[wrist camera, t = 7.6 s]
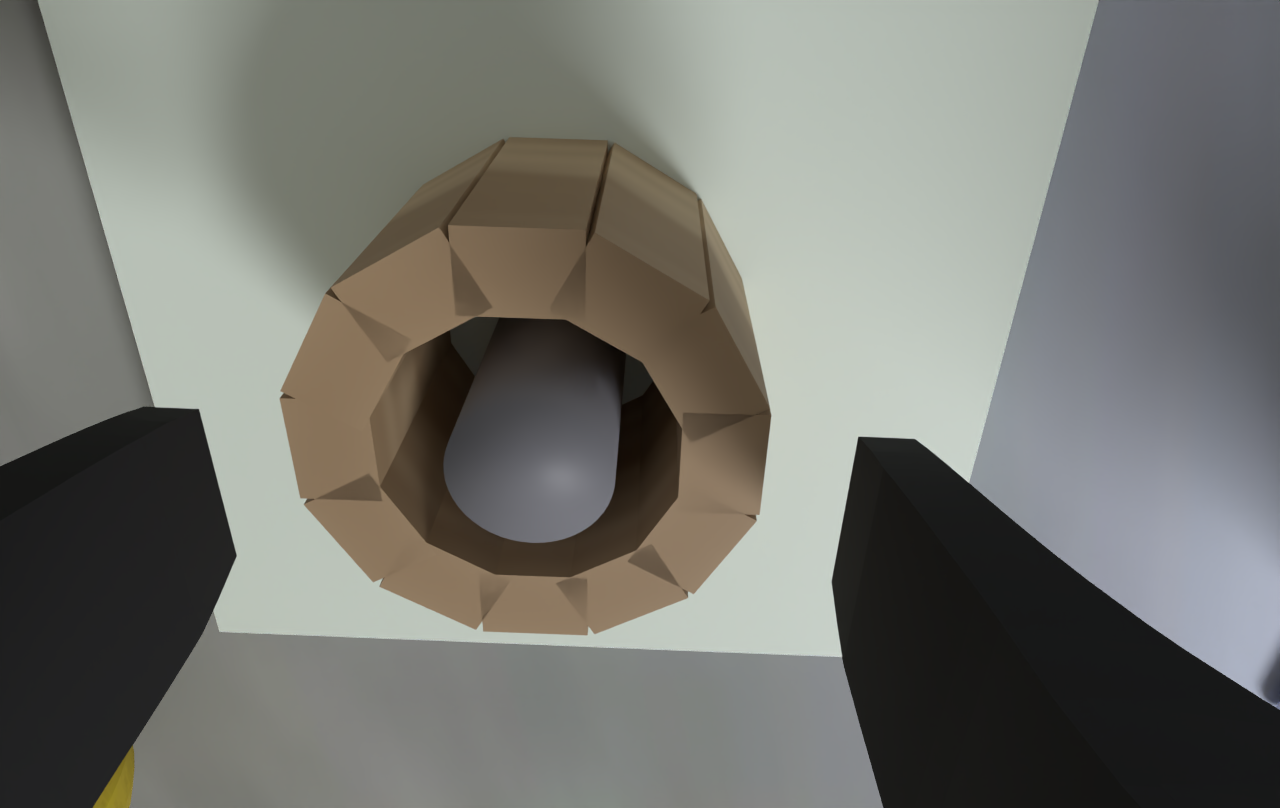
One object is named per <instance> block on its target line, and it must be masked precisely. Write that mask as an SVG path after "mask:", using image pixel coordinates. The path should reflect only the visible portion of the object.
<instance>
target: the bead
mask: <svg viewBox="0 0 1280 808" xmlns="http://www.w3.org/2000/svg"><path fill="white" fill-rule="evenodd" d="M474 317H505V318H534V319H563V320H567V321H569V322H571V323H573V324H575V325H576V326H578V327H580V328H582V329H583V330H585V331H587V332H589V333H591V334H592V335H594V336H596V337H598V338H600V339H601V340H603V341H605V342H607V343H609V344H610V345H612V346H614V347H616V348H617V349H619V350H621V351H623V352H625V353H626V354H628V355H630V356H632V357H634V358H635V359H637V360H639V361H641V362H642V363H643V364H644V366H645V368H646V369H647V371H648V373H649V374H650V376H651V378H652V379H653V382H652V383H651V385H650V386H649V387H648V389H647V390H646V392H645V393H644V394H643V395H642V396H640V397H638V398H636V399H634V400H631V401H629V402H627V403H625V404H623V405H622V408H621V420H620V431H619V443H618V455H617V467H616V478H615V488H614V492H613V495H612V498H611V500H610V503H609V505H608V506H607V508H606V510H605V511H604V513H603V514H602V515H601V516H600V517H599V518H598V520H596V521H595V522H594V523H593V524H592V525H591V526H589V527H588V528H586V529H585V530H583V531H582V532H580V533H578V534H576V535H574V536H571V537H568V538H565V539H562V540H558V541H553V542H544V543H529V542H520V541H515V540H510V539H507V538H503V537H500V536H498V535H495V534H493V533H491V532H489V531H487V530H485V529H483V528H482V527H480V526H479V525H477V524H476V523H474V522H473V521H472V520H471V519H470V518H468V517H467V516H466V515H465V514H464V513H463V512H462V510H461V509H460V508H459V507H458V506H457V504H456V503H455V501H454V500H453V498H452V496H451V494H450V492H449V490H448V488H447V485H446V482H445V477H444V466H443V462H444V455H445V451H446V447H447V444H448V442H449V439H450V437H451V434H452V432H453V429H454V427H455V425H456V422H457V420H458V417H459V415H460V412H461V410H462V407H463V405H464V403H465V400H466V398H467V395H468V393H469V390H470V388H471V385H472V383H473V381H474V378H475V376H474V374H473V373H472V372H471V370H470V369H469V367H468V366H467V364H466V363H465V362H464V360H463V359H462V357H461V356H460V355H459V353H458V352H457V350H456V349H455V348H454V346H453V345H452V343H451V335H450V330H451V329H453V328H455V327H457V326H459V325H461V324H462V323H464V322H466V321H468V320H470V319H472V318H474ZM280 391H281V392H283V394H282V396H281V397H280V398H279V399H280V404H281V408H282V413H283V418H284V423H285V428H286V432H287V437H288V442H289V447H290V451H291V456H292V461H293V466H294V471H295V475H296V480H297V485H298V490H299V495H300V498H304V499H307V500H306V502H305V503H304V506H305V507H306V508H307V509H308V510H309V511H310V512H311V513H312V515H313V516H314V517H315V518H316V519H317V520H318V521H319V522H320V524H321V525H322V526H323V527H324V528H325V529H326V530H327V531H328V532H329V534H330V535H331V536H332V537H333V538H334V539H335V540H336V541H337V543H338V544H339V545H340V546H341V547H342V548H343V549H344V550H345V551H346V553H347V554H348V555H349V556H350V557H351V558H352V559H353V560H354V562H355V563H356V564H357V565H358V566H359V567H360V568H361V569H362V570H363V572H364V573H365V574H366V575H367V576H368V577H369V578H370V579H371V581H372V582H375V581H378V580H380V579H382V578H383V579H382V581H381V584H380V586H379V587H381V588H383V589H385V590H388V591H390V592H392V593H394V594H397V595H399V596H401V597H403V598H406V599H408V600H410V601H412V602H415V603H417V604H419V605H421V606H423V607H426V608H428V609H430V610H432V611H435V612H437V613H439V614H441V615H444V616H446V617H448V618H450V619H453V620H455V621H457V622H459V623H462V624H464V625H466V626H468V627H471V628H473V629H475V630H476V629H477V628H478V626H479V625H480V624H481V622H482V624H483V632H508V633H535V634H562V635H588V626H589V628H590V629H591V630H592V632H593V633H594V634H597V633H599V632H602V631H604V630H607V629H610V628H612V627H615V626H617V625H620V624H622V623H625V622H628V621H630V620H633V619H635V618H638V617H641V616H643V615H646V614H648V613H651V612H653V611H656V610H659V609H661V608H664V607H666V606H669V605H672V604H674V603H677V602H679V601H682V600H684V599H687V598H688V592H690V593H692V594H694V593H695V592H696V591H697V590H698V589H699V588H700V586H701V585H702V584H703V583H704V582H705V581H706V579H707V578H708V577H709V576H710V575H711V574H712V572H713V571H714V570H715V569H716V568H717V567H718V565H719V564H720V563H721V562H722V561H723V560H724V559H725V557H726V556H727V555H728V554H729V553H730V552H731V550H732V549H733V548H734V547H735V546H736V545H737V543H738V542H739V541H740V540H741V539H742V538H743V536H744V535H745V534H746V533H747V532H748V531H749V530H750V528H751V527H752V526H753V525H754V524H755V523H756V521H757V519H756V515H760V508H761V499H762V491H763V482H764V474H765V466H766V457H767V449H768V441H769V432H770V424H771V411H770V405H769V401H768V396H767V392H766V387H765V382H764V378H763V373H762V369H761V364H760V359H759V355H758V350H757V346H756V341H755V336H754V332H753V327H752V323H751V318H750V313H749V309H748V304H747V300H746V295H745V290H744V286H743V281H742V278H741V276H740V274H739V272H738V270H737V268H736V266H735V264H734V262H733V260H732V258H731V256H730V254H729V252H728V250H727V248H726V246H725V244H724V242H723V240H722V238H721V236H720V235H719V233H718V231H717V229H716V227H715V225H714V223H713V221H712V219H711V217H710V215H709V213H708V211H707V209H706V207H705V205H704V203H703V201H702V199H700V200H697V194H696V193H695V192H693V191H691V190H690V189H688V188H687V187H685V186H683V185H682V184H680V183H679V182H677V181H675V180H674V179H672V178H671V177H669V176H667V175H666V174H664V173H663V172H661V171H659V170H658V169H656V168H655V167H653V166H651V165H650V164H648V163H647V162H645V161H643V160H642V159H640V158H639V157H637V156H635V155H634V154H632V153H631V152H629V151H627V150H626V149H624V148H623V147H621V146H619V145H618V144H616V143H615V142H614V144H613V146H612V147H611V149H610V151H609V152H608V140H583V139H553V138H522V137H509V138H508V140H507V141H506V143H505V141H504V140H503V139H501V140H500V141H498V142H496V143H495V144H493V145H491V146H489V147H488V148H486V149H484V150H482V151H481V152H479V153H477V154H475V155H474V156H472V157H470V158H468V159H467V160H465V161H463V162H462V163H460V164H458V165H456V166H455V167H453V168H451V169H449V170H448V171H446V172H444V173H442V174H441V175H439V176H437V177H435V178H434V179H432V180H430V181H429V182H427V183H425V184H423V185H422V186H421V187H420V188H419V189H418V191H417V192H416V193H415V194H414V195H413V196H412V197H411V198H410V199H409V201H408V202H407V203H406V204H405V205H404V206H403V207H402V208H401V209H400V211H399V212H398V213H397V214H396V215H395V216H394V217H393V218H392V219H391V221H390V222H389V223H388V224H387V225H386V226H385V227H384V228H383V230H382V231H381V232H380V233H379V234H378V235H377V236H376V237H375V238H374V240H373V241H372V242H371V243H370V244H369V245H368V246H367V247H366V248H365V250H364V251H363V252H362V253H361V254H360V255H359V256H358V257H357V258H356V260H355V261H354V262H353V263H352V264H351V265H350V266H349V267H348V269H347V270H346V271H345V272H344V273H343V274H342V275H341V276H340V277H339V279H338V280H337V281H336V282H335V283H334V284H333V285H332V286H331V287H330V289H329V290H328V291H327V292H326V293H325V295H324V297H323V299H322V301H321V303H320V306H319V308H318V310H317V312H316V314H315V316H314V319H313V321H312V323H311V325H310V327H309V329H308V332H307V334H306V336H305V338H304V340H303V343H302V345H301V347H300V349H299V351H298V353H297V356H296V358H295V360H294V362H293V364H292V366H291V369H290V371H289V373H288V375H287V377H286V379H285V382H284V384H283V386H282V388H281V390H280Z"/></svg>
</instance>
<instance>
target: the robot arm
mask: <svg viewBox="0 0 1280 808" xmlns="http://www.w3.org/2000/svg"><path fill="white" fill-rule="evenodd" d="M236 557H237V554H236V550H235V547H234V543H233V539H232V535H231V531H230V527H229V523H228V519H227V516H226V512H225V508H224V504H223V500H222V496H221V492H220V488H219V485H218V481H217V477H216V473H215V469H214V465H213V461H212V457H211V454H210V450H209V446H208V442H207V438H206V434H205V430H204V426H203V423H202V419H201V415H200V411H199V409H186V408H162V407H142V408H139V409H136V410H133V411H129V412H126V413H123V414H121V415H118V416H115V417H113V418H110V419H107V420H105V421H102V422H100V423H98V424H95V425H93V426H90V427H88V428H86V429H83V430H81V431H78V432H76V433H74V434H71V435H69V436H67V437H65V438H62V439H60V440H58V441H56V442H53V443H51V444H49V445H47V446H44V447H42V448H40V449H38V450H36V451H33V452H31V453H29V454H27V455H24V456H22V457H20V458H18V459H16V460H13V461H11V462H9V463H7V464H5V465H2V466H0V808H93V806H94V805H95V803H96V802H97V800H98V799H99V797H100V795H101V794H102V792H103V791H104V789H105V788H106V786H107V784H108V783H109V781H110V780H111V778H112V777H113V775H114V773H115V772H116V770H117V769H118V767H119V766H120V764H121V762H122V761H123V759H124V758H125V756H126V755H127V753H128V752H129V750H130V748H131V747H132V745H133V744H134V742H135V741H136V739H137V737H138V736H139V734H140V733H141V731H142V730H143V728H144V726H145V725H146V723H147V722H148V720H149V719H150V717H151V716H152V714H153V712H154V711H155V709H156V708H157V706H158V705H159V703H160V701H161V700H162V698H163V697H164V695H165V694H166V692H167V690H168V689H169V687H170V685H171V684H172V682H173V681H174V679H175V677H176V676H177V674H178V673H179V671H180V669H181V668H182V666H183V665H184V663H185V661H186V660H187V658H188V657H189V655H190V653H191V652H192V650H193V648H194V647H195V645H196V643H197V642H198V640H199V638H200V637H201V635H202V633H203V631H204V629H205V627H206V625H207V623H208V620H209V618H210V616H211V614H212V612H213V610H214V608H215V606H216V604H217V601H218V599H219V597H220V595H221V592H222V590H223V588H224V585H225V583H226V580H227V578H228V576H229V573H230V571H231V569H232V566H233V564H234V562H235V559H236ZM831 582H832V590H833V597H834V605H835V612H836V619H837V627H838V633H839V640H840V646H841V652H842V659H843V664H844V668H845V672H846V676H847V679H848V683H849V687H850V690H851V694H852V698H853V701H854V705H855V708H856V712H857V716H858V719H859V723H860V727H861V730H862V734H863V737H864V741H865V744H866V748H867V751H868V755H869V758H870V762H871V765H872V769H873V772H874V776H875V779H876V783H877V787H878V790H879V794H880V797H881V801H882V804H883V808H1280V702H1279V704H1278V706H1277V708H1276V707H1274V706H1272V705H1271V704H1269V703H1267V702H1266V701H1264V700H1262V699H1261V698H1259V697H1258V696H1256V695H1255V694H1253V693H1251V692H1250V691H1248V690H1247V689H1245V688H1244V687H1242V686H1241V685H1239V684H1237V683H1236V682H1234V681H1233V680H1231V679H1230V678H1228V677H1226V676H1225V675H1223V674H1222V673H1220V672H1219V671H1217V670H1216V669H1214V668H1212V667H1211V666H1209V665H1208V664H1206V663H1205V662H1203V661H1201V660H1200V659H1198V658H1197V657H1195V656H1194V655H1192V654H1191V653H1189V652H1187V651H1186V650H1184V649H1183V648H1181V647H1180V646H1178V645H1177V644H1176V643H1174V642H1173V641H1171V640H1170V639H1168V638H1167V637H1165V636H1164V635H1162V634H1161V633H1159V632H1158V631H1157V630H1155V629H1154V628H1152V627H1151V626H1149V625H1148V624H1146V623H1145V622H1144V621H1142V620H1141V619H1140V618H1138V617H1137V616H1136V615H1134V614H1133V613H1131V612H1130V611H1129V610H1127V609H1126V608H1125V607H1123V606H1122V605H1121V604H1119V603H1118V602H1116V601H1115V600H1114V599H1112V598H1111V597H1110V596H1108V595H1107V594H1106V593H1104V592H1103V591H1102V590H1100V589H1099V588H1097V587H1096V586H1095V585H1093V584H1092V583H1091V582H1089V581H1088V580H1087V579H1085V578H1084V577H1083V576H1082V575H1080V574H1079V573H1078V572H1076V571H1075V570H1074V569H1073V568H1071V567H1070V566H1069V565H1067V564H1066V563H1065V562H1064V561H1062V560H1061V559H1060V558H1058V557H1057V556H1056V555H1055V554H1053V553H1052V552H1051V551H1050V550H1048V549H1047V548H1046V547H1045V546H1043V545H1042V544H1041V543H1040V542H1039V541H1037V540H1036V539H1035V538H1034V537H1032V536H1031V535H1030V534H1029V533H1028V532H1026V531H1025V530H1024V529H1023V528H1022V527H1020V526H1019V525H1018V524H1017V523H1015V522H1014V521H1013V520H1012V519H1011V518H1010V517H1008V516H1007V515H1006V514H1005V513H1004V512H1002V511H1001V510H1000V509H999V508H998V507H996V506H995V505H994V504H993V503H992V502H991V501H989V500H988V499H987V498H986V497H985V496H984V495H982V494H981V493H980V492H979V491H978V490H977V489H975V488H974V487H973V486H972V485H971V484H969V483H968V482H967V481H966V480H965V479H964V478H962V477H961V476H960V475H959V474H958V473H957V472H955V471H954V470H953V469H952V468H951V467H950V466H948V465H947V464H946V463H945V462H944V461H942V460H941V459H940V458H939V457H938V456H936V455H935V454H934V453H933V452H931V451H930V450H929V449H928V448H926V447H925V446H924V445H922V444H921V443H920V442H918V441H917V440H916V439H906V438H882V437H858V441H857V446H856V452H855V457H854V462H853V468H852V473H851V479H850V484H849V489H848V495H847V500H846V506H845V511H844V516H843V522H842V527H841V533H840V538H839V543H838V549H837V554H836V560H835V565H834V570H833V576H832V581H831Z"/></svg>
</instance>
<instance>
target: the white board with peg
mask: <svg viewBox="0 0 1280 808" xmlns="http://www.w3.org/2000/svg"><path fill="white" fill-rule="evenodd" d="M1098 2H1099V0H38V3H39V7H40V10H41V13H42V17H43V20H44V24H45V27H46V31H47V34H48V38H49V41H50V45H51V48H52V52H53V55H54V59H55V62H56V66H57V69H58V73H59V76H60V79H61V83H62V86H63V90H64V93H65V97H66V100H67V104H68V107H69V111H70V114H71V118H72V121H73V125H74V128H75V132H76V135H77V138H78V142H79V145H80V149H81V152H82V156H83V159H84V163H85V166H86V170H87V173H88V177H89V180H90V184H91V187H92V191H93V194H94V197H95V201H96V204H97V208H98V211H99V215H100V218H101V222H102V225H103V229H104V232H105V236H106V239H107V243H108V246H109V250H110V253H111V257H112V260H113V263H114V267H115V270H116V274H117V277H118V281H119V284H120V288H121V291H122V295H123V298H124V302H125V305H126V309H127V312H128V316H129V319H130V322H131V326H132V329H133V333H134V336H135V340H136V343H137V347H138V350H139V354H140V357H141V361H142V364H143V368H144V371H145V375H146V378H147V381H148V385H149V388H150V392H151V395H152V399H153V402H154V406H155V407H162V408H186V409H199V411H200V415H201V419H202V423H203V426H204V430H205V434H206V438H207V442H208V446H209V450H210V454H211V457H212V461H213V465H214V469H215V473H216V477H217V481H218V485H219V488H220V492H221V496H222V500H223V504H224V508H225V512H226V516H227V519H228V523H229V527H230V531H231V535H232V539H233V543H234V547H235V550H236V554H237V557H236V559H235V562H234V564H233V566H232V569H231V571H230V573H229V576H228V578H227V580H226V583H225V585H224V588H223V590H222V592H221V595H220V597H219V599H218V601H217V604H216V606H215V608H214V610H213V611H214V614H215V618H216V621H217V624H218V628H219V631H220V632H235V633H260V634H284V635H309V636H334V637H359V638H384V639H408V640H433V641H458V642H483V643H507V644H532V645H557V646H582V647H606V648H631V649H656V650H681V651H706V652H730V653H755V654H780V655H805V656H829V657H842V652H841V646H840V640H839V633H838V627H837V619H836V612H835V605H834V597H833V590H832V582H831V581H832V576H833V570H834V565H835V560H836V554H837V549H838V543H839V538H840V533H841V527H842V522H843V516H844V511H845V506H846V500H847V495H848V489H849V484H850V479H851V473H852V468H853V462H854V457H855V452H856V446H857V441H858V437H882V438H906V439H916V440H917V441H918V442H920V443H921V444H922V445H924V446H925V447H926V448H928V449H929V450H930V451H931V452H933V453H934V454H935V455H936V456H938V457H939V458H940V459H941V460H942V461H944V462H945V463H946V464H947V465H948V466H950V467H951V468H952V469H953V470H954V471H955V472H957V473H958V474H959V475H960V476H961V477H962V478H964V479H965V480H966V481H967V482H968V483H969V481H970V477H971V473H972V469H973V466H974V462H975V458H976V455H977V451H978V447H979V444H980V440H981V436H982V432H983V429H984V425H985V421H986V418H987V414H988V410H989V406H990V403H991V399H992V395H993V392H994V388H995V384H996V380H997V377H998V373H999V369H1000V366H1001V362H1002V358H1003V354H1004V351H1005V347H1006V343H1007V340H1008V336H1009V332H1010V328H1011V325H1012V321H1013V317H1014V314H1015V310H1016V306H1017V302H1018V299H1019V295H1020V291H1021V288H1022V284H1023V280H1024V276H1025V273H1026V269H1027V265H1028V262H1029V258H1030V254H1031V250H1032V247H1033V243H1034V239H1035V236H1036V232H1037V228H1038V224H1039V221H1040V217H1041V213H1042V210H1043V206H1044V202H1045V199H1046V195H1047V191H1048V187H1049V184H1050V180H1051V176H1052V173H1053V169H1054V165H1055V161H1056V158H1057V154H1058V150H1059V147H1060V143H1061V139H1062V135H1063V132H1064V128H1065V124H1066V121H1067V117H1068V113H1069V109H1070V106H1071V102H1072V98H1073V95H1074V91H1075V87H1076V83H1077V80H1078V76H1079V72H1080V69H1081V65H1082V61H1083V57H1084V54H1085V50H1086V46H1087V43H1088V39H1089V35H1090V31H1091V28H1092V24H1093V20H1094V17H1095V13H1096V9H1097V5H1098ZM509 137H522V138H553V139H583V140H608V152H609V151H610V149H611V147H612V146H613V144H614V142H615V143H616V144H618V145H619V146H621V147H623V148H624V149H626V150H627V151H629V152H631V153H632V154H634V155H635V156H637V157H639V158H640V159H642V160H643V161H645V162H647V163H648V164H650V165H651V166H653V167H655V168H656V169H658V170H659V171H661V172H663V173H664V174H666V175H667V176H669V177H671V178H672V179H674V180H675V181H677V182H679V183H680V184H682V185H683V186H685V187H687V188H688V189H690V190H691V191H693V192H695V193H696V194H697V200H700V199H702V201H703V203H704V205H705V207H706V209H707V211H708V213H709V215H710V217H711V219H712V221H713V223H714V225H715V227H716V229H717V231H718V233H719V235H720V236H721V238H722V240H723V242H724V244H725V246H726V248H727V250H728V252H729V254H730V256H731V258H732V260H733V262H734V264H735V266H736V268H737V270H738V272H739V274H740V276H741V278H742V281H743V286H744V290H745V295H746V300H747V304H748V309H749V313H750V318H751V323H752V327H753V332H754V336H755V341H756V346H757V350H758V355H759V359H760V364H761V369H762V373H763V378H764V382H765V387H766V392H767V396H768V401H769V405H770V411H771V424H770V432H769V441H768V449H767V457H766V466H765V474H764V482H763V491H762V499H761V508H760V515H756V519H757V521H756V523H755V524H754V525H753V526H752V527H751V528H750V530H749V531H748V532H747V533H746V534H745V535H744V536H743V538H742V539H741V540H740V541H739V542H738V543H737V545H736V546H735V547H734V548H733V549H732V550H731V552H730V553H729V554H728V555H727V556H726V557H725V559H724V560H723V561H722V562H721V563H720V564H719V565H718V567H717V568H716V569H715V570H714V571H713V572H712V574H711V575H710V576H709V577H708V578H707V579H706V581H705V582H704V583H703V584H702V585H701V586H700V588H699V589H698V590H697V591H696V592H695V593H694V594H692V593H690V592H688V598H687V599H684V600H682V601H679V602H677V603H674V604H672V605H669V606H666V607H664V608H661V609H659V610H656V611H653V612H651V613H648V614H646V615H643V616H641V617H638V618H635V619H633V620H630V621H628V622H625V623H622V624H620V625H617V626H615V627H612V628H610V629H607V630H604V631H602V632H599V633H597V634H594V633H593V632H592V630H591V629H590V628H589V626H588V635H562V634H535V633H508V632H483V624H482V622H481V624H480V625H479V626H478V628H477V629H476V630H475V629H473V628H471V627H468V626H466V625H464V624H462V623H459V622H457V621H455V620H453V619H450V618H448V617H446V616H444V615H441V614H439V613H437V612H435V611H432V610H430V609H428V608H426V607H423V606H421V605H419V604H417V603H415V602H412V601H410V600H408V599H406V598H403V597H401V596H399V595H397V594H394V593H392V592H390V591H388V590H385V589H383V588H381V587H379V586H380V584H381V581H382V579H383V578H382V579H380V580H378V581H375V582H372V581H371V579H370V578H369V577H368V576H367V575H366V574H365V573H364V572H363V570H362V569H361V568H360V567H359V566H358V565H357V564H356V563H355V562H354V560H353V559H352V558H351V557H350V556H349V555H348V554H347V553H346V551H345V550H344V549H343V548H342V547H341V546H340V545H339V544H338V543H337V541H336V540H335V539H334V538H333V537H332V536H331V535H330V534H329V532H328V531H327V530H326V529H325V528H324V527H323V526H322V525H321V524H320V522H319V521H318V520H317V519H316V518H315V517H314V516H313V515H312V513H311V512H310V511H309V510H308V509H307V508H306V507H305V506H304V503H305V502H306V500H307V499H304V498H300V495H299V490H298V485H297V480H296V475H295V471H294V466H293V461H292V456H291V451H290V447H289V442H288V437H287V432H286V428H285V423H284V418H283V413H282V408H281V404H280V399H279V398H280V397H281V396H282V394H283V392H281V391H280V390H281V388H282V386H283V384H284V382H285V379H286V377H287V375H288V373H289V371H290V369H291V366H292V364H293V362H294V360H295V358H296V356H297V353H298V351H299V349H300V347H301V345H302V343H303V340H304V338H305V336H306V334H307V332H308V329H309V327H310V325H311V323H312V321H313V319H314V316H315V314H316V312H317V310H318V308H319V306H320V303H321V301H322V299H323V297H324V295H325V293H326V292H327V291H328V290H329V289H330V287H331V286H332V285H333V284H334V283H335V282H336V281H337V280H338V279H339V277H340V276H341V275H342V274H343V273H344V272H345V271H346V270H347V269H348V267H349V266H350V265H351V264H352V263H353V262H354V261H355V260H356V258H357V257H358V256H359V255H360V254H361V253H362V252H363V251H364V250H365V248H366V247H367V246H368V245H369V244H370V243H371V242H372V241H373V240H374V238H375V237H376V236H377V235H378V234H379V233H380V232H381V231H382V230H383V228H384V227H385V226H386V225H387V224H388V223H389V222H390V221H391V219H392V218H393V217H394V216H395V215H396V214H397V213H398V212H399V211H400V209H401V208H402V207H403V206H404V205H405V204H406V203H407V202H408V201H409V199H410V198H411V197H412V196H413V195H414V194H415V193H416V192H417V191H418V189H419V188H420V187H421V186H422V185H423V184H425V183H427V182H429V181H430V180H432V179H434V178H435V177H437V176H439V175H441V174H442V173H444V172H446V171H448V170H449V169H451V168H453V167H455V166H456V165H458V164H460V163H462V162H463V161H465V160H467V159H468V158H470V157H472V156H474V155H475V154H477V153H479V152H481V151H482V150H484V149H486V148H488V147H489V146H491V145H493V144H495V143H496V142H498V141H500V140H501V139H503V140H504V141H505V143H506V141H507V140H508V138H509ZM450 335H451V343H452V345H453V346H454V348H455V349H456V350H457V352H458V353H459V355H460V356H461V357H462V359H463V360H464V362H465V363H466V364H467V366H468V367H469V369H470V370H471V372H472V373H473V374H474V376H475V378H474V381H473V383H472V385H471V388H470V390H469V393H468V395H467V398H466V400H465V403H464V405H463V407H462V410H461V412H460V415H459V417H458V420H457V422H456V425H455V427H454V429H453V432H452V434H451V437H450V439H449V442H448V444H447V447H446V451H445V455H444V462H443V466H444V477H445V482H446V485H447V488H448V490H449V492H450V494H451V496H452V498H453V500H454V501H455V503H456V504H457V506H458V507H459V508H460V509H461V510H462V512H463V513H464V514H465V515H466V516H467V517H468V518H470V519H471V520H472V521H473V522H474V523H476V524H477V525H479V526H480V527H482V528H483V529H485V530H487V531H489V532H491V533H493V534H495V535H498V536H500V537H503V538H507V539H510V540H515V541H520V542H529V543H544V542H553V541H558V540H562V539H565V538H568V537H571V536H574V535H576V534H578V533H580V532H582V531H583V530H585V529H586V528H588V527H589V526H591V525H592V524H593V523H594V522H595V521H596V520H598V518H599V517H600V516H601V515H602V514H603V513H604V511H605V510H606V508H607V506H608V505H609V503H610V500H611V498H612V495H613V492H614V488H615V478H616V467H617V455H618V443H619V431H620V420H621V408H622V405H623V404H625V403H627V402H629V401H631V400H634V399H636V398H638V397H640V396H642V395H643V394H644V393H645V392H646V390H647V389H648V387H649V386H650V385H651V383H652V382H653V379H652V378H651V376H650V374H649V373H648V371H647V369H646V368H645V366H644V364H643V363H642V362H641V361H639V360H637V359H635V358H634V357H632V356H630V355H628V354H626V353H625V352H623V351H621V350H619V349H617V348H616V347H614V346H612V345H610V344H609V343H607V342H605V341H603V340H601V339H600V338H598V337H596V336H594V335H592V334H591V333H589V332H587V331H585V330H583V329H582V328H580V327H578V326H576V325H575V324H573V323H571V322H569V321H567V320H563V319H534V318H505V317H474V318H472V319H470V320H468V321H466V322H464V323H462V324H461V325H459V326H457V327H455V328H453V329H451V330H450Z"/></svg>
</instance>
